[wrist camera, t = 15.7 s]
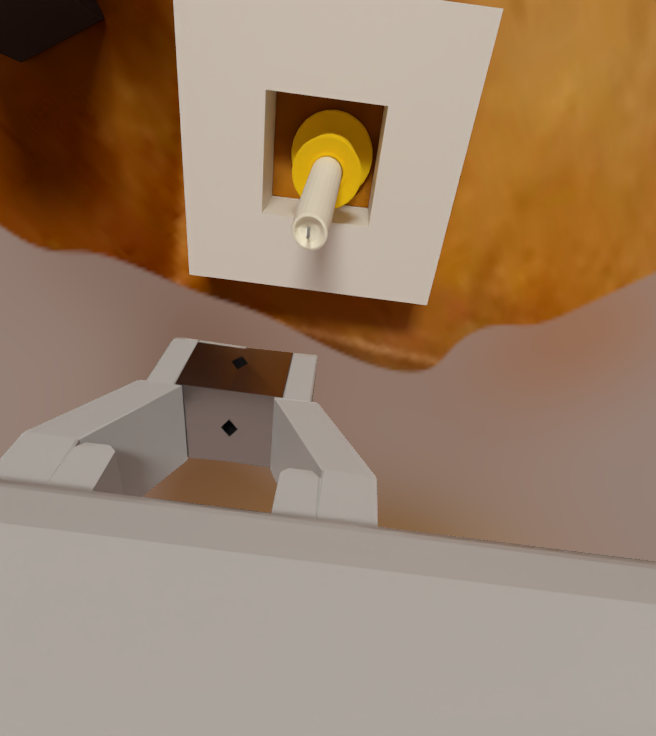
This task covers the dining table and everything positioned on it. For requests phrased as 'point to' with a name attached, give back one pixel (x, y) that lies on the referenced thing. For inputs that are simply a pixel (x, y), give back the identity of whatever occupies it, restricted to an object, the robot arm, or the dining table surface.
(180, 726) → the robot arm
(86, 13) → the phone stand
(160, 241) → the dining table surface
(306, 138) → the candle
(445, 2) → the hole board
